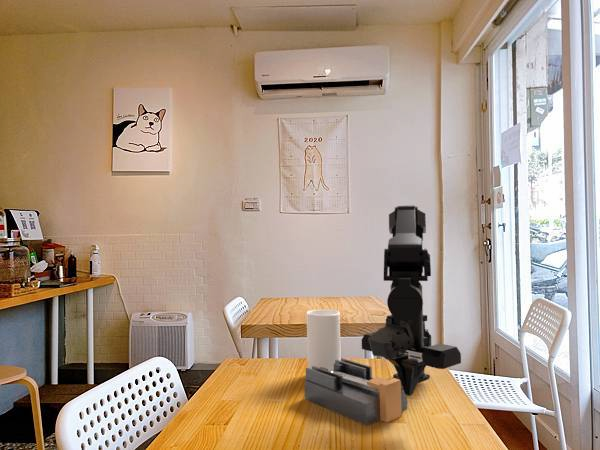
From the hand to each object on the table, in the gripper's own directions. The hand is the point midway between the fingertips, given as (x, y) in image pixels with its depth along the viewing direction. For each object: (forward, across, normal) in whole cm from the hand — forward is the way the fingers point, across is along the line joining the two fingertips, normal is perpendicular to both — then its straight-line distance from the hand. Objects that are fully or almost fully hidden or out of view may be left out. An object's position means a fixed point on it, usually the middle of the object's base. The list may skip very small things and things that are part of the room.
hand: (408, 395), depth 83 cm
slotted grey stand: (+6, -14, 0) cm, 15 cm away
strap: (+1, -15, 0) cm, 15 cm away
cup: (+6, -32, +7) cm, 33 cm away
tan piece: (+6, -6, 0) cm, 9 cm away
